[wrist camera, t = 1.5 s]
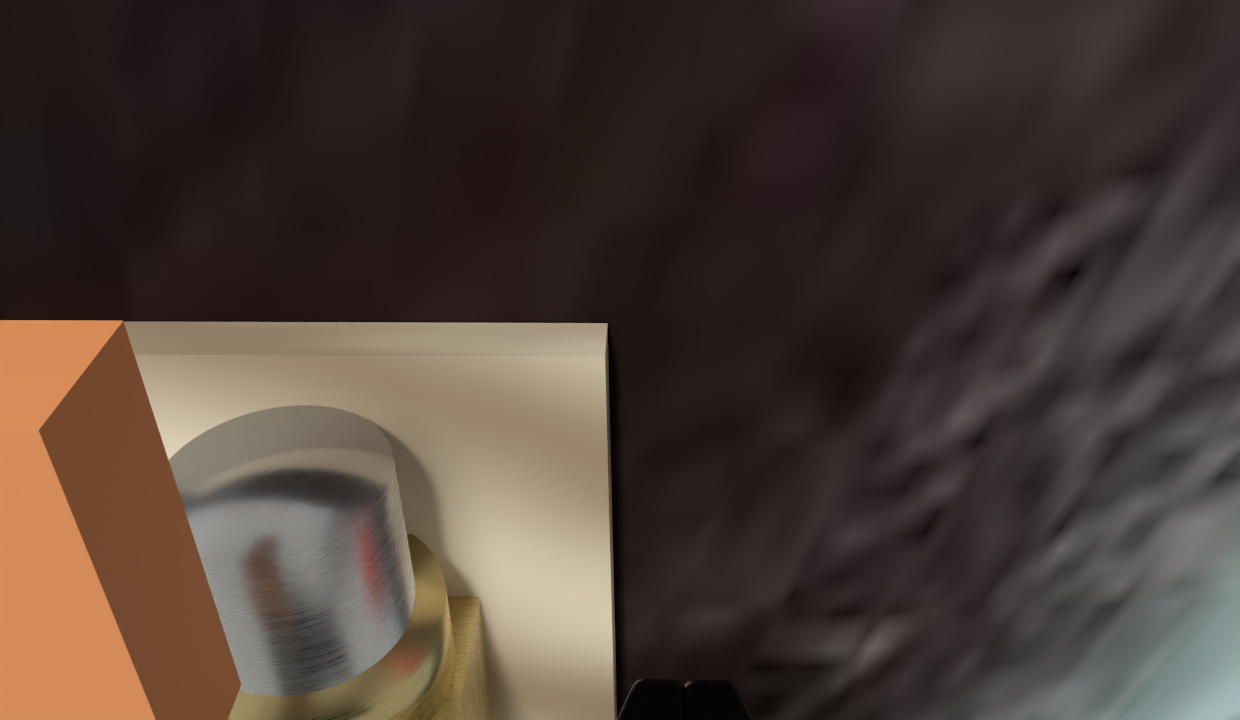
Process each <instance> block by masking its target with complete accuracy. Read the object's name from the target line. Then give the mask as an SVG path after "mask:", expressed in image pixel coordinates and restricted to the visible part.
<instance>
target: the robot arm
mask: <svg viewBox="0 0 1240 720" xmlns="http://www.w3.org/2000/svg"><path fill="white" fill-rule="evenodd" d="M617 720H753V718H752V716H751V715H750V713H749V711H748V709H747V707H746V705H745V703H744V701H743V699H742V697H741V696H740V694H739V692H738V690H737V688H736V687H735V686H734V685H733V684H732V683H731V682H730V681H727V680H696V679H693V680H690V681H688V682H687V683H686V684H685V686H684V689H683V685H682V683H681V682H679V681H678V680H675V679H640V680H638V681H636V682H635V684H634V685H633V686H632V688H631V690H630V692H629V694H628V696H627V698H626V700H625V703H624V705H623V707H622V709H621V711H620V713H619V716H618V718H617Z"/></svg>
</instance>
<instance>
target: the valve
mask: <svg viewBox="0 0 1240 720" xmlns="http://www.w3.org/2000/svg"><path fill="white" fill-rule="evenodd" d="M169 463H170V466H171V469H172V472H173V475H174V478H175V482H176V485H177V488H178V491H179V494H180V497H181V500H182V503H183V506H184V509H185V512H186V515H187V519H188V522H189V525H190V528H191V531H192V534H193V537H194V540H195V543H196V546H197V549H198V552H199V556H200V559H201V562H202V565H203V568H204V571H205V574H206V577H207V580H208V583H209V586H210V589H211V592H212V596H213V599H214V602H215V605H216V608H217V611H218V614H219V617H220V620H221V623H222V626H223V629H224V633H225V636H226V639H227V642H228V645H229V648H230V651H231V654H232V657H233V660H234V663H235V666H236V669H237V673H238V676H239V679H240V682H241V687H240V690H239V692H238V695H237V697H236V700H235V702H234V705H233V708H232V710H231V713H230V715H229V718H228V720H495V718H494V710H493V702H492V694H491V686H490V678H489V670H488V662H487V654H486V646H485V638H484V630H483V622H482V614H481V606H480V598H479V597H447V591H446V584H445V580H444V575H443V571H442V569H441V567H440V565H439V562H438V560H437V559H436V557H435V556H434V554H433V553H432V551H431V550H430V549H429V548H428V547H427V546H426V545H425V544H424V543H423V542H422V541H421V540H420V539H418V538H417V537H416V536H414V535H413V534H407V533H406V527H405V522H404V516H403V510H402V504H401V498H400V492H399V487H398V481H397V475H396V469H395V463H394V457H393V453H392V448H391V446H390V444H389V441H388V439H387V438H386V437H385V435H384V434H383V432H382V431H381V430H380V429H379V428H377V427H376V426H375V425H374V424H373V423H371V422H370V421H368V420H367V419H365V418H363V417H361V416H359V415H357V414H354V413H351V412H348V411H345V410H341V409H337V408H332V407H324V406H312V405H298V406H284V407H276V408H270V409H265V410H260V411H256V412H252V413H249V414H245V415H242V416H239V417H236V418H233V419H231V420H228V421H226V422H224V423H221V424H219V425H217V426H215V427H213V428H211V429H209V430H207V431H205V432H204V433H202V434H200V435H199V436H197V437H195V438H194V439H193V440H191V441H190V442H188V443H187V444H186V445H184V446H183V447H182V448H181V449H180V450H178V451H177V452H176V453H175V454H174V455H173V456H172V457H171V458H170V459H169Z"/></svg>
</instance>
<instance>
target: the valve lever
mask: <svg viewBox="0 0 1240 720" xmlns="http://www.w3.org/2000/svg"><path fill="white" fill-rule="evenodd" d="M240 687H241V682H240V679H239V676H238V673H237V669H236V666H235V663H234V660H233V657H232V654H231V651H230V648H229V645H228V642H227V639H226V636H225V633H224V629H223V626H222V623H221V620H220V617H219V614H218V611H217V608H216V605H215V602H214V599H213V596H212V592H211V589H210V586H209V583H208V580H207V577H206V574H205V571H204V568H203V565H202V562H201V559H200V556H199V552H198V549H197V546H196V543H195V540H194V537H193V534H192V531H191V528H190V525H189V522H188V519H187V515H186V512H185V509H184V506H183V503H182V500H181V497H180V494H179V491H178V488H177V485H176V482H175V478H174V475H173V472H172V469H171V466H170V463H169V460H168V457H167V454H166V451H165V448H164V445H163V442H162V438H161V435H160V432H159V429H158V426H157V423H156V420H155V417H154V414H153V411H152V408H151V405H150V401H149V398H148V395H147V392H146V389H145V386H144V383H143V380H142V377H141V374H140V371H139V368H138V364H137V361H136V358H135V355H134V352H133V349H132V346H131V343H130V340H129V337H128V334H127V331H126V328H125V324H124V321H79V320H0V720H228V718H229V715H230V713H231V710H232V708H233V705H234V702H235V700H236V697H237V695H238V692H239V690H240Z"/></svg>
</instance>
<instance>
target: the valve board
mask: <svg viewBox="0 0 1240 720" xmlns="http://www.w3.org/2000/svg"><path fill="white" fill-rule="evenodd" d="M124 324H125V328H126V331H127V334H128V337H129V340H130V343H131V346H132V349H133V352H134V355H135V358H136V361H137V364H138V368H139V371H140V374H141V377H142V380H143V383H144V386H145V389H146V392H147V395H148V398H149V401H150V405H151V408H152V411H153V414H154V417H155V420H156V423H157V426H158V429H159V432H160V435H161V438H162V442H163V445H164V448H165V451H166V454H167V457H168V460H169V459H170V458H171V457H172V456H173V455H174V454H175V453H176V452H177V451H178V450H180V449H181V448H182V447H183V446H184V445H186V444H187V443H188V442H190V441H191V440H193V439H194V438H195V437H197V436H199V435H200V434H202V433H204V432H205V431H207V430H209V429H211V428H213V427H215V426H217V425H219V424H221V423H224V422H226V421H228V420H231V419H233V418H236V417H239V416H242V415H245V414H249V413H252V412H256V411H260V410H265V409H270V408H276V407H284V406H298V405H312V406H324V407H332V408H337V409H341V410H345V411H348V412H351V413H354V414H357V415H359V416H361V417H363V418H365V419H367V420H368V421H370V422H371V423H373V424H374V425H375V426H376V427H377V428H379V429H380V430H381V431H382V432H383V434H384V435H385V437H386V438H387V439H388V441H389V444H390V446H391V448H392V453H393V457H394V463H395V469H396V475H397V481H398V487H399V492H400V498H401V504H402V510H403V516H404V522H405V527H406V533H407V534H413V535H414V536H416V537H417V538H418V539H420V540H421V541H422V542H423V543H424V544H425V545H426V546H427V547H428V548H429V549H430V550H431V551H432V553H433V554H434V556H435V557H436V559H437V560H438V562H439V565H440V567H441V569H442V571H443V575H444V580H445V584H446V591H447V597H479V598H480V606H481V614H482V622H483V630H484V638H485V646H486V654H487V662H488V670H489V678H490V686H491V694H492V702H493V710H494V718H495V720H617V694H616V653H615V612H614V571H613V530H612V489H611V448H610V407H609V366H608V324H607V323H395V322H124Z"/></svg>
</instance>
